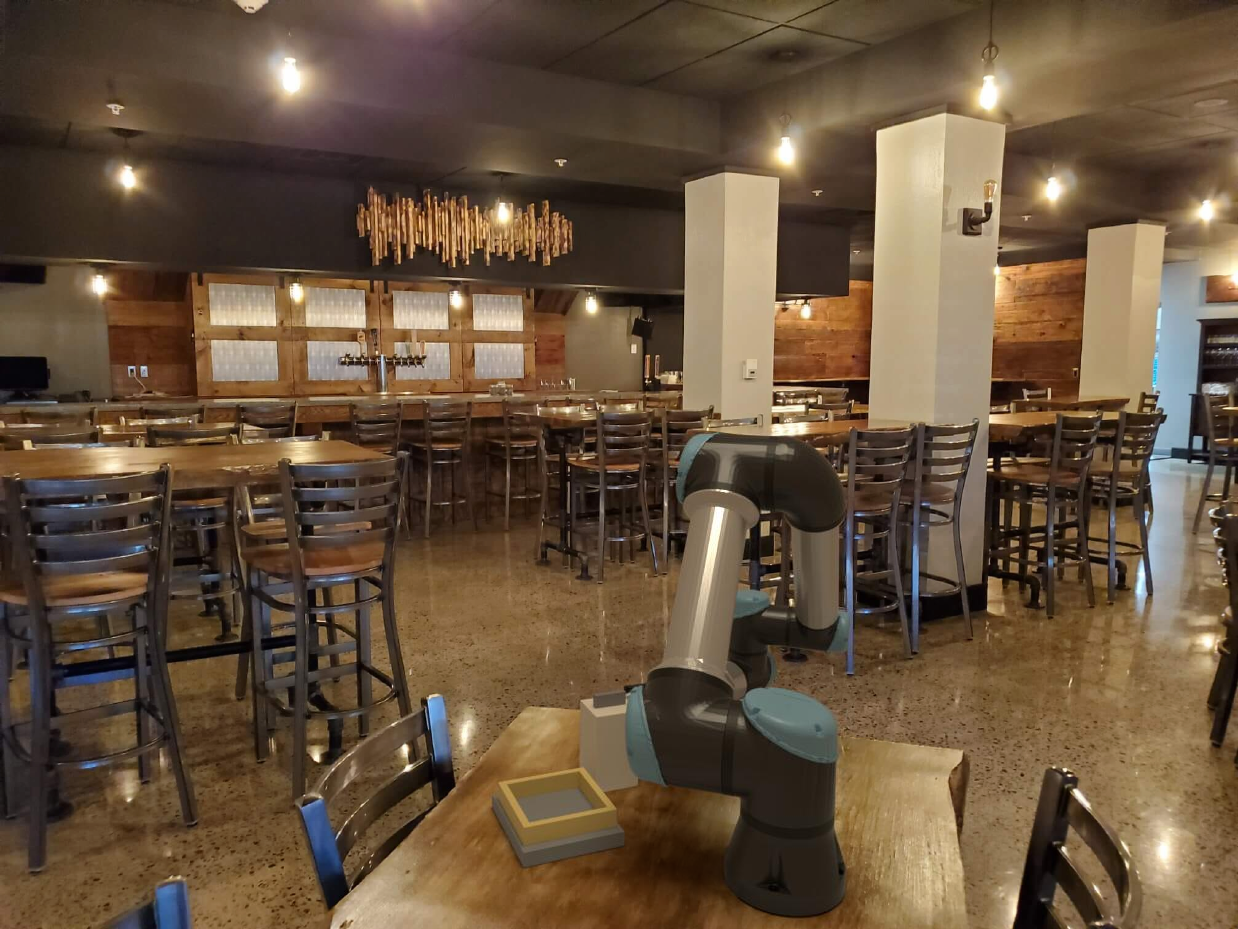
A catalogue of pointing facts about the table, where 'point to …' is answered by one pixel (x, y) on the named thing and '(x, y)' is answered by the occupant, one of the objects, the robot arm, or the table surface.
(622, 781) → the beige rectangular block
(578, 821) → the tray
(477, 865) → the table surface
